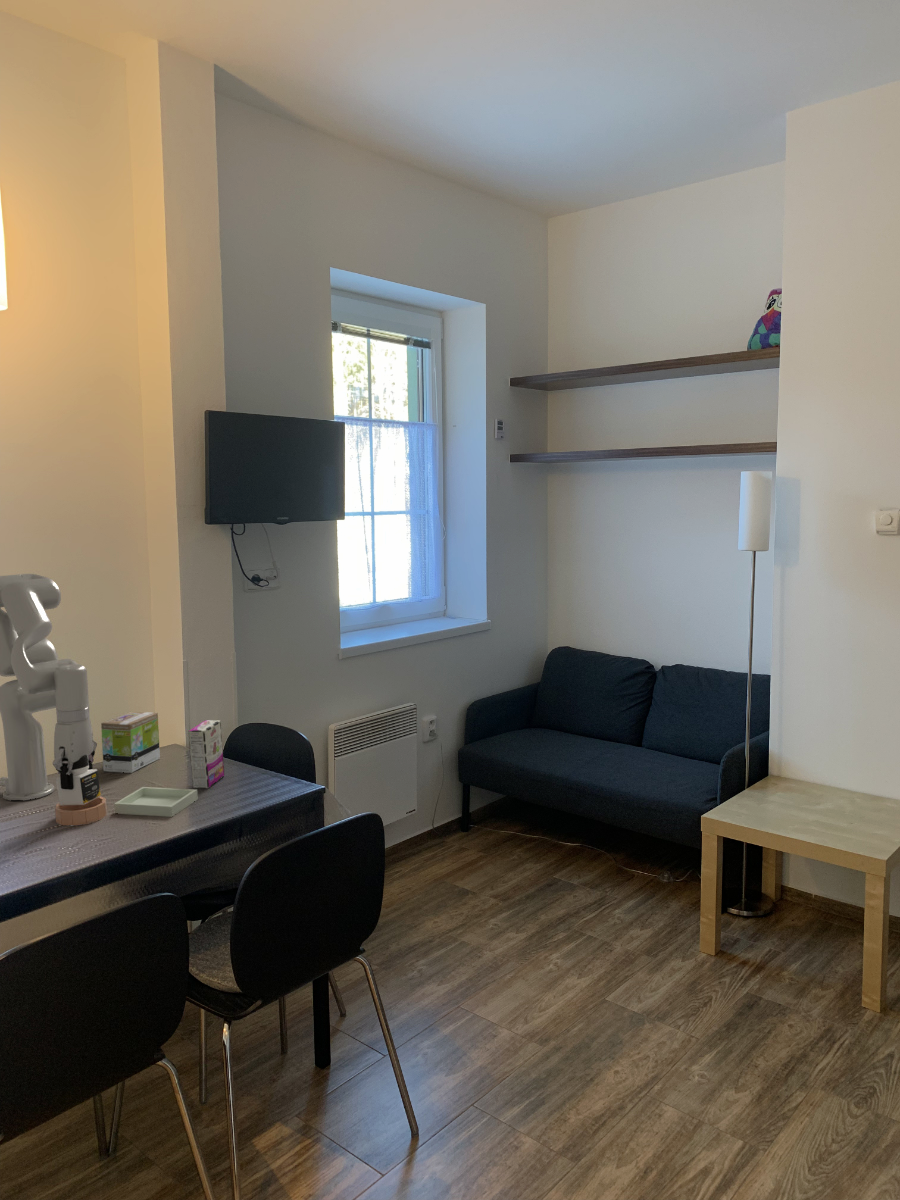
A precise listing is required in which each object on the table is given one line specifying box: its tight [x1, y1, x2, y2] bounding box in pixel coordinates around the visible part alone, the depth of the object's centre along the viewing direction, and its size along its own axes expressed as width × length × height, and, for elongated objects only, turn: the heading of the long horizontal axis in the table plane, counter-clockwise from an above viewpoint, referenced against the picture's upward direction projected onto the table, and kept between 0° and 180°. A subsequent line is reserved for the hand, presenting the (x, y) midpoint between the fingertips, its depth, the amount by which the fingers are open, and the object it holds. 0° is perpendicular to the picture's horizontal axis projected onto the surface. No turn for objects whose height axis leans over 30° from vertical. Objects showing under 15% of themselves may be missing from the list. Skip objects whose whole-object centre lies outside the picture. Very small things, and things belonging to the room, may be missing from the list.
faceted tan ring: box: [54, 795, 108, 826], centre depth 227 cm, size 12×12×4 cm
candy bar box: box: [188, 719, 226, 789], centre depth 251 cm, size 11×5×16 cm, turn 171°
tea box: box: [101, 711, 161, 774], centre depth 269 cm, size 15×10×15 cm, turn 167°
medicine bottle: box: [55, 755, 102, 806], centre depth 226 cm, size 7×7×12 cm
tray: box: [113, 786, 199, 818], centre depth 233 cm, size 16×13×3 cm
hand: (77, 783), depth 227 cm, fingers closed on medicine bottle, 7 cm apart
